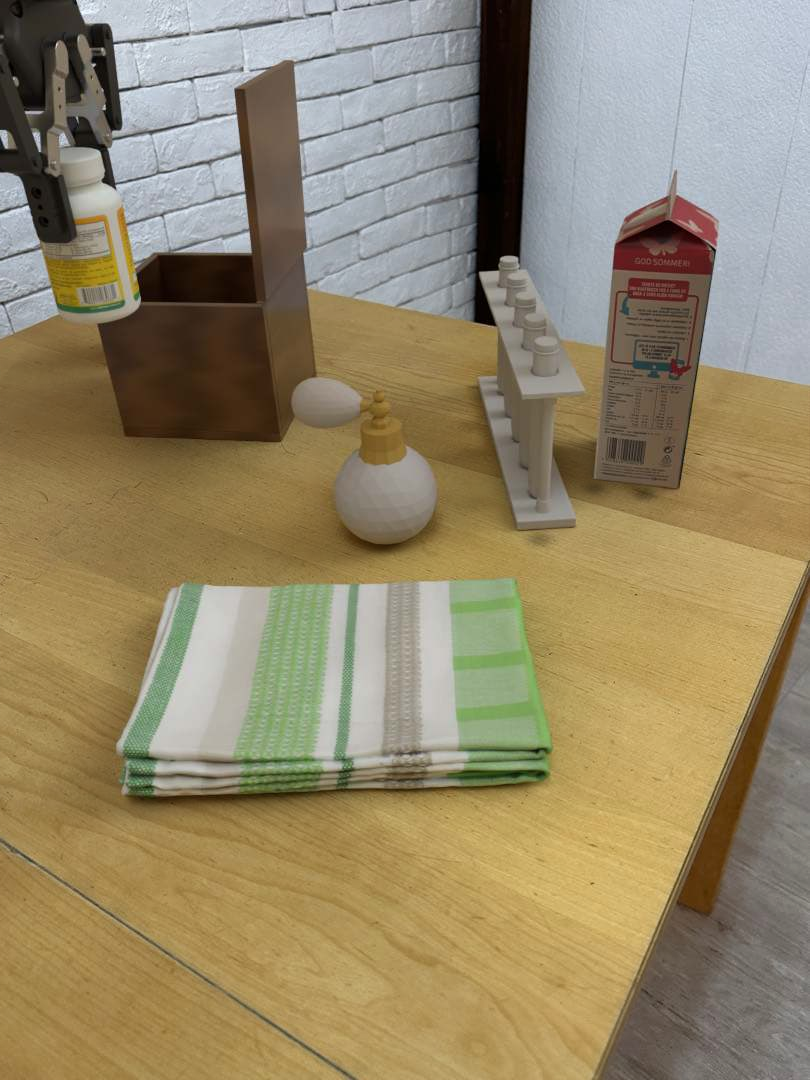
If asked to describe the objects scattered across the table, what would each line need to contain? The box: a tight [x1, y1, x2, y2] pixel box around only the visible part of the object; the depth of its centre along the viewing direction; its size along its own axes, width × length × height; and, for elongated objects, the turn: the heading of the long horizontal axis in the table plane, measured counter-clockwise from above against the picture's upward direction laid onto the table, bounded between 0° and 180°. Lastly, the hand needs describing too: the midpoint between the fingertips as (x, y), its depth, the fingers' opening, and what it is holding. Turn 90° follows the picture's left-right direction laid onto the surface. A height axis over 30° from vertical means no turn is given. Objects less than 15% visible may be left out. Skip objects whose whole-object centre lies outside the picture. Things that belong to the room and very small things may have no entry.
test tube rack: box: [477, 255, 586, 531], centre depth 73 cm, size 25×4×13 cm, turn 3°
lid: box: [233, 59, 308, 302], centre depth 73 cm, size 15×14×1 cm
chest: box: [96, 251, 317, 443], centre depth 83 cm, size 15×14×12 cm
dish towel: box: [115, 577, 554, 798], centre depth 53 cm, size 17×23×4 cm
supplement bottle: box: [38, 146, 141, 325], centre depth 56 cm, size 5×5×10 cm
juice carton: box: [593, 169, 720, 490], centre depth 68 cm, size 7×7×22 cm
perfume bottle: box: [291, 376, 438, 545], centre depth 64 cm, size 8×10×12 cm
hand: (81, 224), depth 56 cm, fingers closed on supplement bottle, 5 cm apart
